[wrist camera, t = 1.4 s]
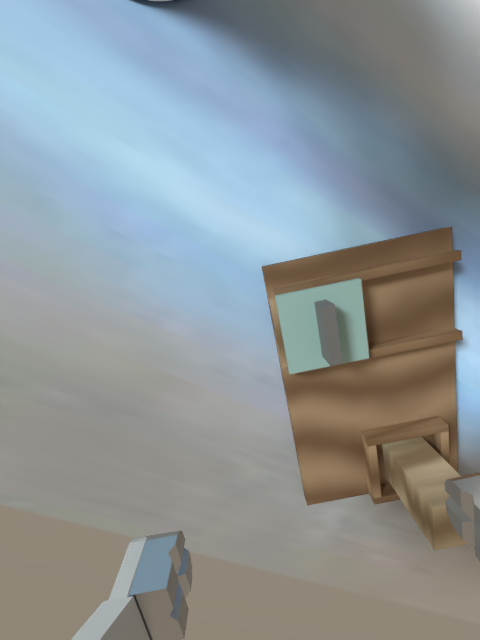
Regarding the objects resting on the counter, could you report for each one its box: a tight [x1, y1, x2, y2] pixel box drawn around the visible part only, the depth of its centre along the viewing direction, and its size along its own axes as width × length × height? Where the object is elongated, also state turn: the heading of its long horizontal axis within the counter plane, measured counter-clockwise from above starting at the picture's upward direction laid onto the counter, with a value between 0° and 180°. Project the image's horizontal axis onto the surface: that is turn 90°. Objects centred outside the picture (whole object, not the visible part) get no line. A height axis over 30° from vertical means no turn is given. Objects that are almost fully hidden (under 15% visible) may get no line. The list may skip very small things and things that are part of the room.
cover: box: [275, 278, 369, 374], centre depth 24 cm, size 7×7×3 cm
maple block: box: [382, 437, 469, 550], centre depth 27 cm, size 4×4×8 cm
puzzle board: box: [262, 227, 462, 505], centre depth 29 cm, size 27×17×3 cm, turn 12°
